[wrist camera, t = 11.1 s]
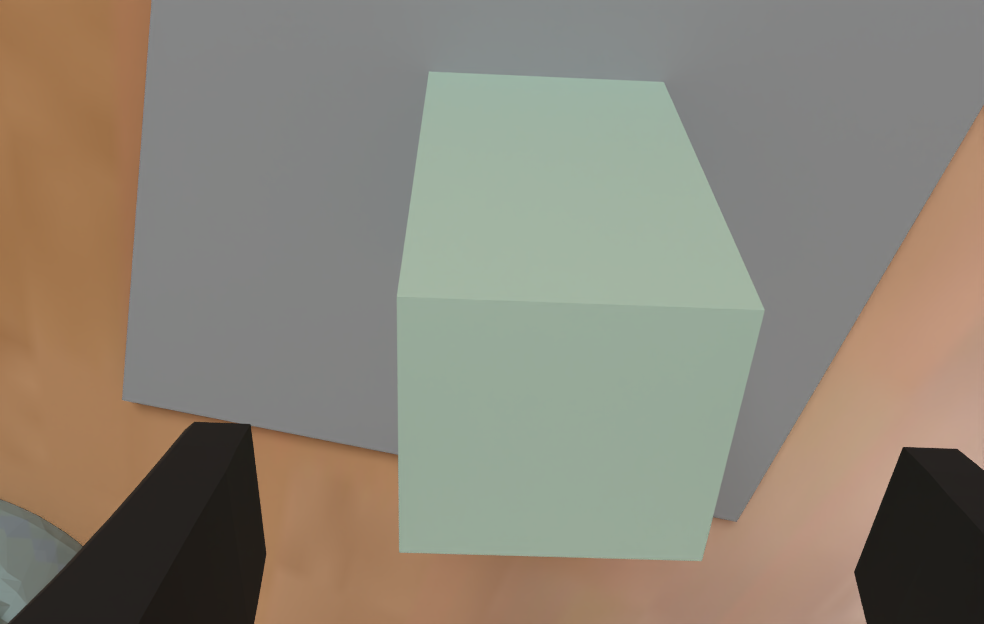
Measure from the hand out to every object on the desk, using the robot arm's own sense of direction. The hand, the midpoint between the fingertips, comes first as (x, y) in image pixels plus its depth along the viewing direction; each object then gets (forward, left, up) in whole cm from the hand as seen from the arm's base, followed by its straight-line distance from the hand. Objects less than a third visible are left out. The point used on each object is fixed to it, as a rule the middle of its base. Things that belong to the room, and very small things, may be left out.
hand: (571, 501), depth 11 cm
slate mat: (0, 0, -8) cm, 8 cm away
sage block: (0, 0, -8) cm, 8 cm away
